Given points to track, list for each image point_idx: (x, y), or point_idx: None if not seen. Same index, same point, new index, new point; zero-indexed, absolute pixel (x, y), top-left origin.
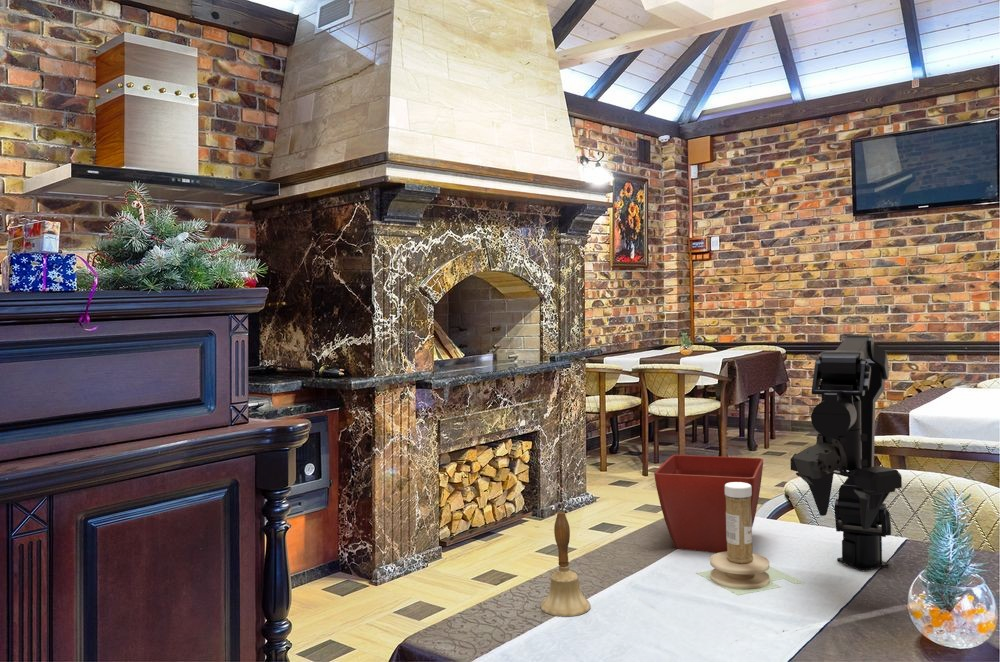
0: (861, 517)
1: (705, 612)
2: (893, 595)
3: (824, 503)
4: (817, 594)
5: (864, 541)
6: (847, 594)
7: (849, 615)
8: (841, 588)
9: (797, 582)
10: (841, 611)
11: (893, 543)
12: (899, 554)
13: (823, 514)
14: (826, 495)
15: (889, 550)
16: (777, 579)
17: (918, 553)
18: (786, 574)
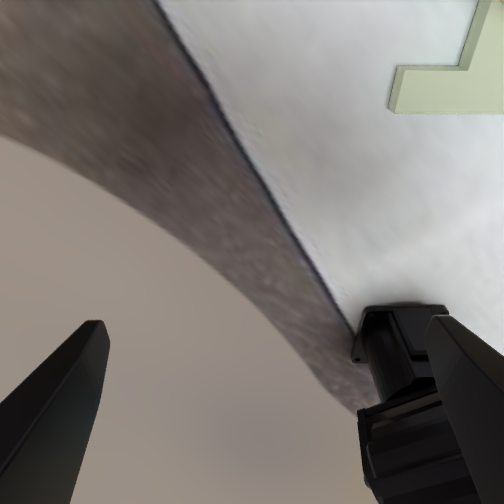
0: (58, 374)
1: None
2: (224, 264)
3: (462, 396)
4: (328, 102)
5: (394, 375)
6: (282, 180)
7: (147, 59)
8: (322, 197)
9: (409, 87)
10: (184, 61)
11: None
12: None
13: (432, 328)
14: (486, 463)
15: None
16: (480, 40)
17: None
18: (481, 110)
